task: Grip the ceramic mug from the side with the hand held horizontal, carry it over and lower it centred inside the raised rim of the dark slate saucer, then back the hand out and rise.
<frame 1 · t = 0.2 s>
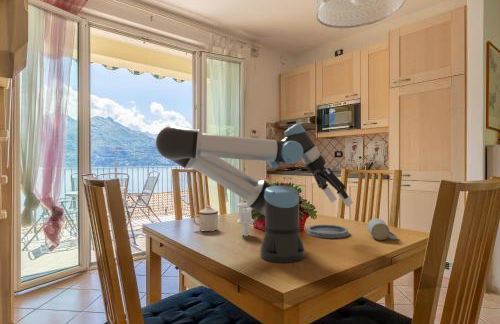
hand: (341, 202, 120), 15 cm above the table, tool tilted 35°, fingers open, 13 cm apart
strainer: (245, 235, 131), on the table
saucer: (327, 233, 133), on the table
teacup with lid: (205, 230, 142), on the table
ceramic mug: (382, 239, 123), on the table
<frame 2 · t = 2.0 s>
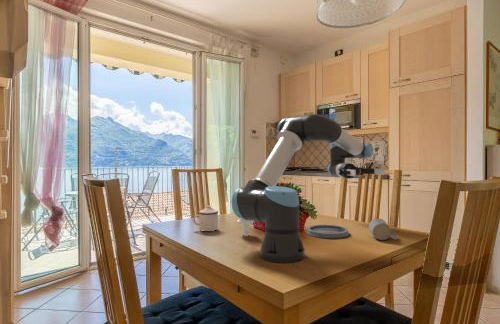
hand: (369, 172, 131), 27 cm above the table, tool horizontal, fingers open, 13 cm apart
nothing on the table moved.
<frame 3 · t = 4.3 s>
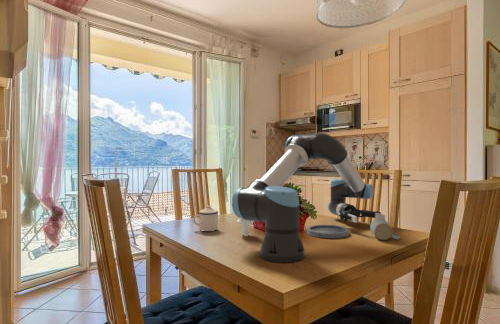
hand: (370, 218, 131), 6 cm above the table, tool horizontal, fingers open, 13 cm apart
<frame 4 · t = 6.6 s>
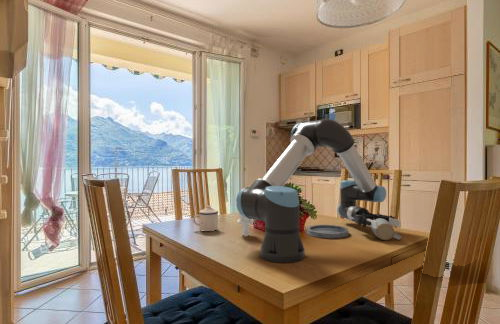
hand: (388, 224, 118), 7 cm above the table, tool horizontal, fingers open, 9 cm apart
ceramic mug: (386, 239, 122), on the table, touching gripper
everything else where it was.
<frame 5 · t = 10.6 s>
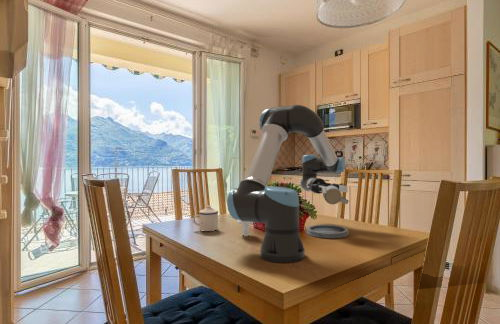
hand: (336, 189, 127), 20 cm above the table, tool horizontal, fingers closed on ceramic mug, 9 cm apart
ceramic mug: (335, 204, 131), point 13 cm above the table, touching gripper
everything else where it was.
when the fingers open (9 cm above the table, at t = 14.4 s): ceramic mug drops 1 cm, resting on saucer.
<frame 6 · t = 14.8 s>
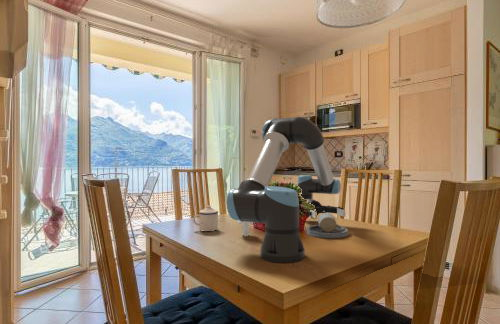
hand: (330, 214, 129), 9 cm above the table, tool horizontal, fingers open, 13 cm apart
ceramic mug: (330, 231, 132), point 1 cm above the table, touching saucer
everything else where it was.
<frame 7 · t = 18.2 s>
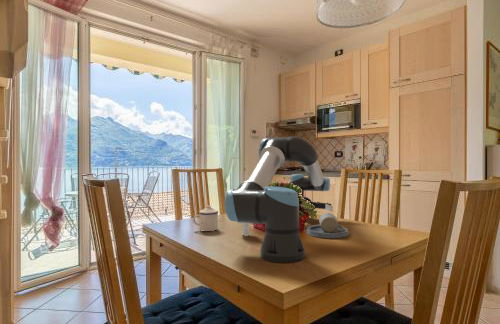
hand: (318, 209, 142), 9 cm above the table, tool horizontal, fingers open, 13 cm apart
nothing on the table moved.
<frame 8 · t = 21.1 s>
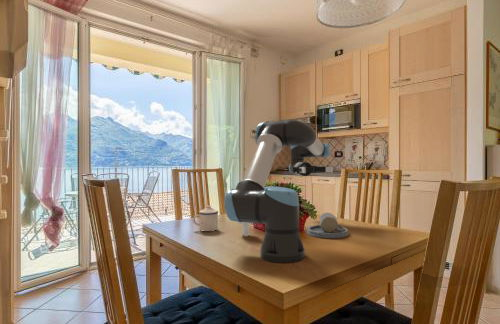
hand: (318, 169, 141), 28 cm above the table, tool horizontal, fingers open, 13 cm apart
nothing on the table moved.
at the end: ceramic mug 2.0 cm off-centre on the saucer, point 0.8 cm above the saucer's base; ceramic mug tilted 1°; the gripper is holding nothing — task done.
